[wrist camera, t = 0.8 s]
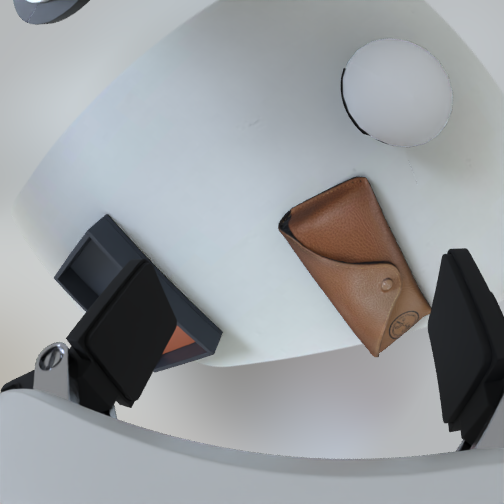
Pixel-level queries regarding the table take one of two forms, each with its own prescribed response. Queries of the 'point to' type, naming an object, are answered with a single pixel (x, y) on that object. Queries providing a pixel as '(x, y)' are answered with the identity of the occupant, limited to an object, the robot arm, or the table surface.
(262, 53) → the table surface
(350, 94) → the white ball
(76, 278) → the tray
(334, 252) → the sunglasses case
